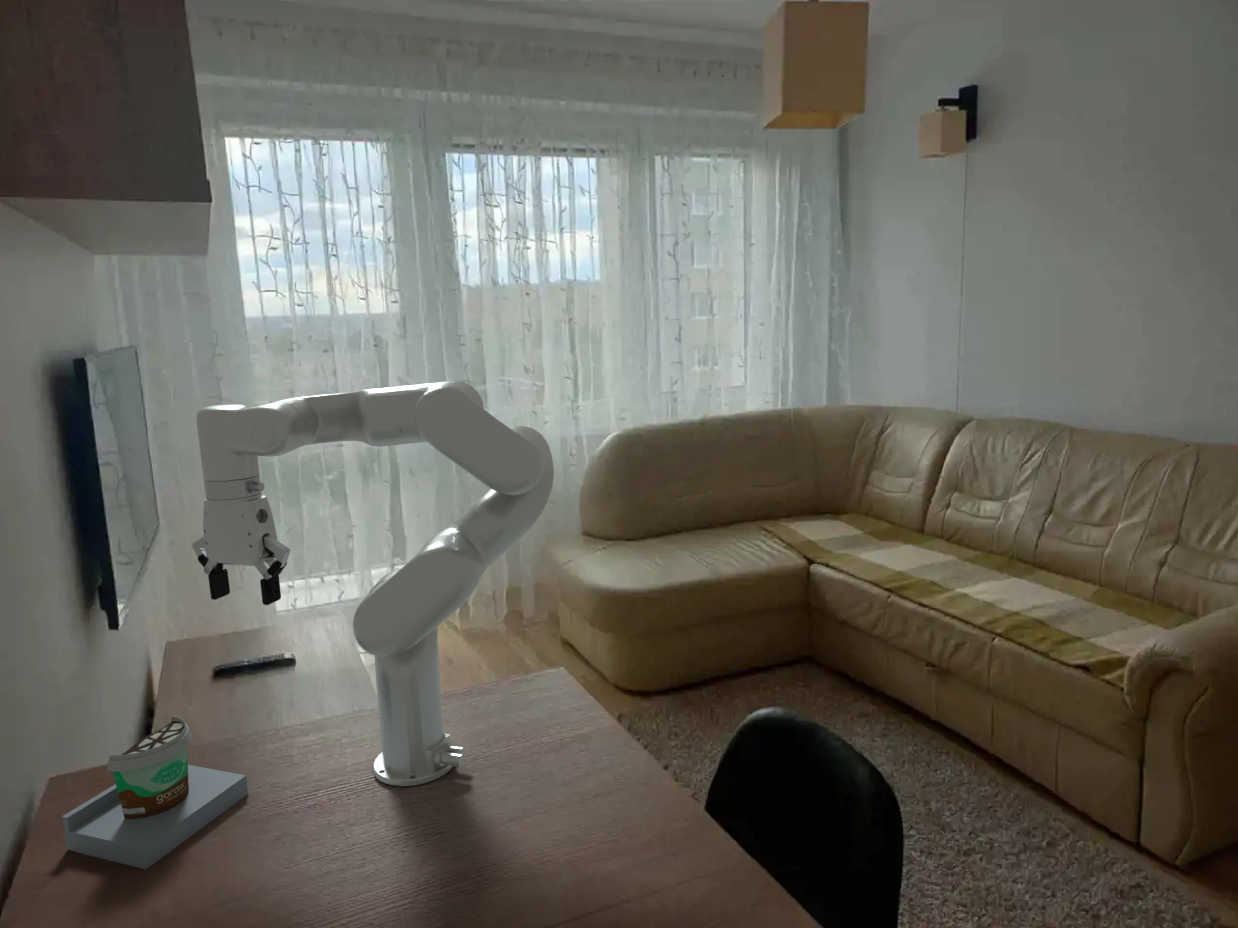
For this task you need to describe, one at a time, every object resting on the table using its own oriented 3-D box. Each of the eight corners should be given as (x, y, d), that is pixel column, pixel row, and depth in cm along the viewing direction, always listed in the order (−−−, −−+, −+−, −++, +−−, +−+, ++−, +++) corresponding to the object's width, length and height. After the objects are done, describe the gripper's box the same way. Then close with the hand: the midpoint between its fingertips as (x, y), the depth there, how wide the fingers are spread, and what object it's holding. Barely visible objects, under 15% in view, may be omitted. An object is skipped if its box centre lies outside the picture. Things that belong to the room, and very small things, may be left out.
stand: (248, 793, 125) (244, 763, 124) (145, 869, 108) (140, 834, 108) (176, 779, 130) (172, 749, 129) (67, 849, 113) (61, 816, 112)
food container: (153, 830, 112) (143, 761, 110) (115, 824, 113) (105, 756, 111) (217, 780, 124) (209, 717, 122) (182, 776, 125) (173, 713, 123)
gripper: (298, 485, 124) (309, 595, 127) (207, 481, 130) (220, 587, 133) (262, 496, 117) (274, 612, 120) (167, 491, 123) (181, 602, 126)
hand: (246, 599), depth 126 cm, fingers open, 9 cm apart
